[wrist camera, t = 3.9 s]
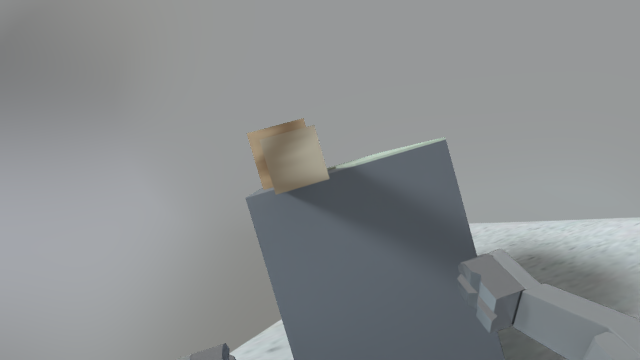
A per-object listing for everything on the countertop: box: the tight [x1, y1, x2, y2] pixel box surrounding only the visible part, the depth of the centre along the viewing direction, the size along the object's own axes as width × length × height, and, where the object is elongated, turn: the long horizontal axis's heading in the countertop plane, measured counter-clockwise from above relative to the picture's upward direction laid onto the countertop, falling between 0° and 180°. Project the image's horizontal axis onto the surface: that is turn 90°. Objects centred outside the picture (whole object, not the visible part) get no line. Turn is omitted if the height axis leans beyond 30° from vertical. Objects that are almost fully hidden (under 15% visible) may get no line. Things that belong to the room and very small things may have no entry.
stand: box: [246, 137, 505, 360], centre depth 35 cm, size 17×18×25 cm
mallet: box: [247, 119, 330, 195], centre depth 28 cm, size 6×23×6 cm, turn 8°
